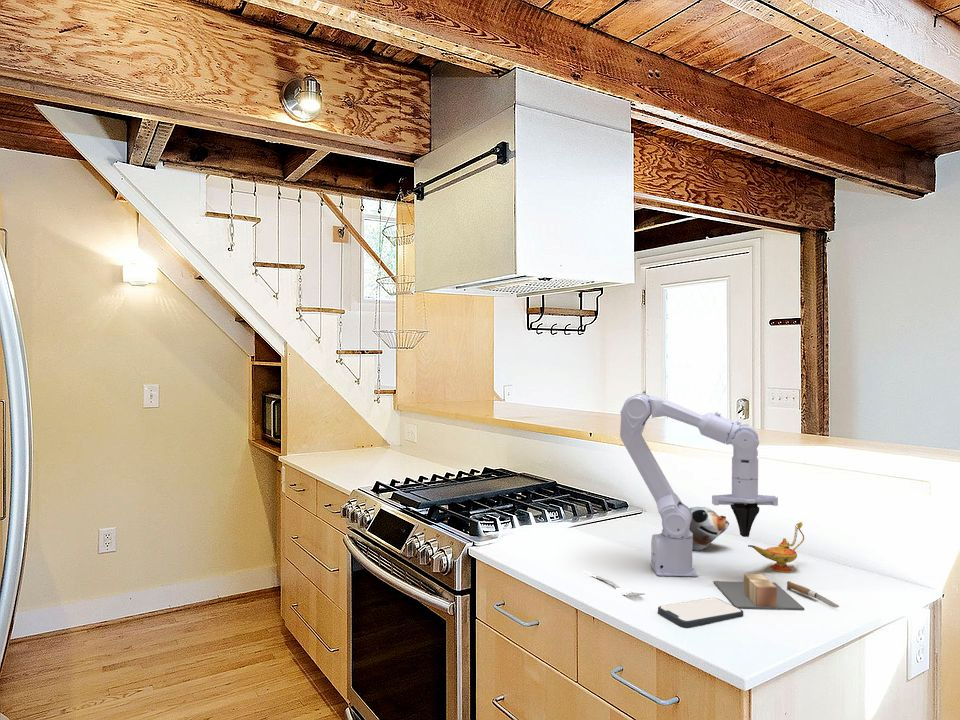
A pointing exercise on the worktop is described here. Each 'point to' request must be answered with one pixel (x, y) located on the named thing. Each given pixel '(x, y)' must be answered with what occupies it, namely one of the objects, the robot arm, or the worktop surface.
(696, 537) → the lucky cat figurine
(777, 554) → the magic lamp
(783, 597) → the rubber mat
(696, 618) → the phone case
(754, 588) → the maple block
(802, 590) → the folding knife
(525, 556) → the worktop surface
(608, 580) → the fork
